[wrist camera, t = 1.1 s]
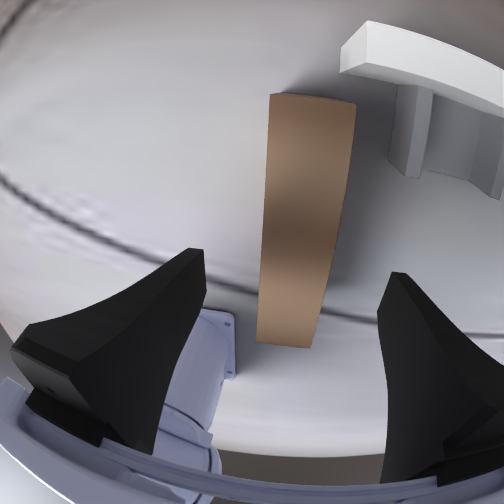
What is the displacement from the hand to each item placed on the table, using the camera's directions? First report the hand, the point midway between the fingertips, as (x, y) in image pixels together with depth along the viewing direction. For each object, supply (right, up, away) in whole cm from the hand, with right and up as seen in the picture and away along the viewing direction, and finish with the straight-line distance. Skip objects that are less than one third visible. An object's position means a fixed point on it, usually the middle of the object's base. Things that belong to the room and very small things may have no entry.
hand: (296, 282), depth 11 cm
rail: (+1, +4, +7) cm, 8 cm away
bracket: (+9, +8, +2) cm, 13 cm away
